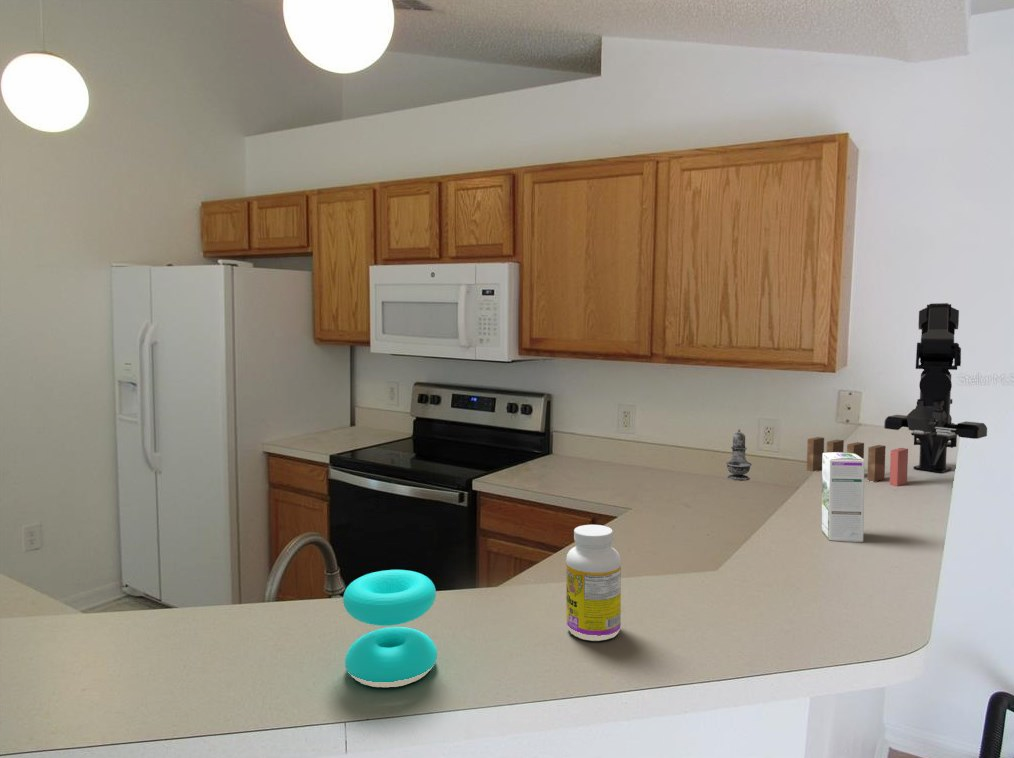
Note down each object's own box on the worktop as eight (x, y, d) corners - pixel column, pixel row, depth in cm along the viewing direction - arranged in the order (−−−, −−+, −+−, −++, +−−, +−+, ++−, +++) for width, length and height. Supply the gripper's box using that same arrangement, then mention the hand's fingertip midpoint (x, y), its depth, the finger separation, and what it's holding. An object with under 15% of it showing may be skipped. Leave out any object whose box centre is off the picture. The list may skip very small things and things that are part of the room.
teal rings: (333, 601, 71) (352, 566, 81) (336, 695, 71) (354, 649, 81) (432, 599, 71) (438, 565, 81) (434, 692, 72) (440, 647, 82)
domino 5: (889, 485, 158) (890, 450, 158) (899, 481, 161) (900, 447, 161) (897, 486, 157) (898, 451, 156) (906, 482, 160) (908, 448, 159)
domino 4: (867, 481, 162) (868, 447, 162) (877, 478, 165) (878, 444, 165) (874, 482, 161) (875, 448, 160) (884, 479, 164) (885, 445, 163)
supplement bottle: (565, 619, 89) (564, 521, 88) (616, 620, 89) (617, 521, 88) (568, 644, 82) (567, 538, 81) (624, 644, 82) (624, 538, 81)
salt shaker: (747, 475, 169) (748, 427, 168) (754, 481, 163) (755, 430, 162) (723, 475, 170) (724, 426, 169) (728, 480, 164) (729, 430, 163)
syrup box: (864, 542, 118) (867, 458, 117) (827, 540, 119) (829, 457, 118) (854, 532, 124) (857, 452, 122) (819, 531, 125) (821, 451, 124)
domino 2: (825, 473, 170) (826, 441, 170) (836, 471, 173) (837, 439, 173) (832, 474, 169) (833, 442, 168) (842, 472, 172) (843, 440, 171)
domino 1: (806, 470, 174) (807, 439, 174) (817, 467, 177) (818, 436, 177) (812, 471, 173) (813, 439, 172) (823, 468, 176) (824, 437, 175)
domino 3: (846, 477, 166) (847, 444, 166) (856, 474, 169) (857, 442, 169) (852, 478, 165) (853, 445, 164) (863, 475, 168) (864, 442, 167)
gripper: (873, 394, 155) (871, 463, 156) (968, 401, 140) (965, 477, 141) (896, 390, 161) (894, 456, 163) (989, 397, 146) (986, 469, 148)
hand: (932, 464), depth 153 cm, fingers closed
